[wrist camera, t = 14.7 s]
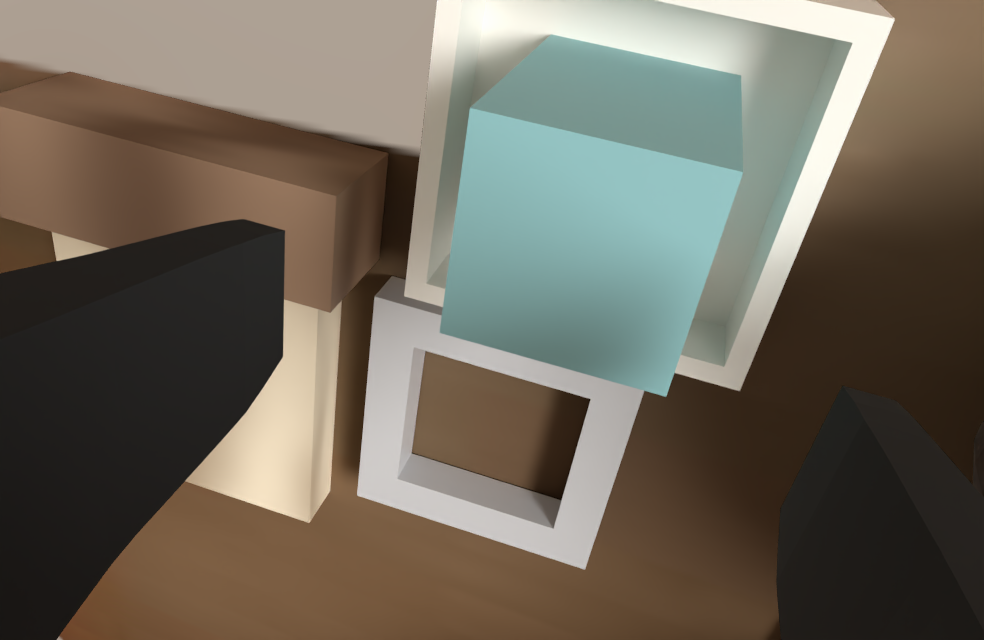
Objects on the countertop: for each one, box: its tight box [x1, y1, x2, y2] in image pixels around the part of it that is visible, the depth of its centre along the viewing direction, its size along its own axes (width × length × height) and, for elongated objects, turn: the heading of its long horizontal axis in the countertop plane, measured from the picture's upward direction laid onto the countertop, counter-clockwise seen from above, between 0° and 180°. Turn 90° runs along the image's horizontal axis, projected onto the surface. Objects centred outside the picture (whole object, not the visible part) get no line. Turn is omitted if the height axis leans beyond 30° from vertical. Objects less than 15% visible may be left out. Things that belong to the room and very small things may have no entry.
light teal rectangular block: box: [439, 34, 743, 397], centre depth 15 cm, size 4×4×6 cm
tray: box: [404, 0, 895, 391], centre depth 17 cm, size 8×8×2 cm
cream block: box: [52, 232, 342, 523], centre depth 24 cm, size 8×9×2 cm
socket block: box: [357, 276, 644, 569], centre depth 22 cm, size 7×7×1 cm
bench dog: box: [0, 72, 389, 313], centre depth 19 cm, size 9×3×3 cm, turn 81°
